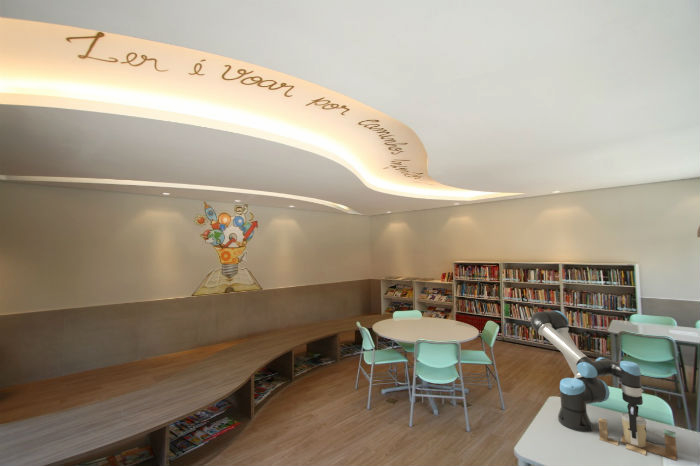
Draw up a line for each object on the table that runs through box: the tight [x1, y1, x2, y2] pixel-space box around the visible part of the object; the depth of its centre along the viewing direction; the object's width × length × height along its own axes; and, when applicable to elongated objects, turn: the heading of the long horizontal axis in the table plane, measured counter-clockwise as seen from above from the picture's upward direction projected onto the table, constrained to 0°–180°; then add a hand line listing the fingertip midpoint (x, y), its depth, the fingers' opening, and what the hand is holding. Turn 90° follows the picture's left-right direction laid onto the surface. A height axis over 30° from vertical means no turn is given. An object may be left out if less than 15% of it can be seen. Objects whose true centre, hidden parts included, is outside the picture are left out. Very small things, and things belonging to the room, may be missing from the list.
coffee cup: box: [620, 412, 647, 447], centre depth 152 cm, size 9×9×12 cm
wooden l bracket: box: [620, 428, 678, 461], centre depth 148 cm, size 19×8×10 cm, turn 44°
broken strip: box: [598, 417, 647, 456], centre depth 150 cm, size 17×4×10 cm, turn 44°
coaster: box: [646, 429, 665, 445], centre depth 157 cm, size 12×12×1 cm
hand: (635, 440), depth 152 cm, fingers closed on coffee cup, 9 cm apart
